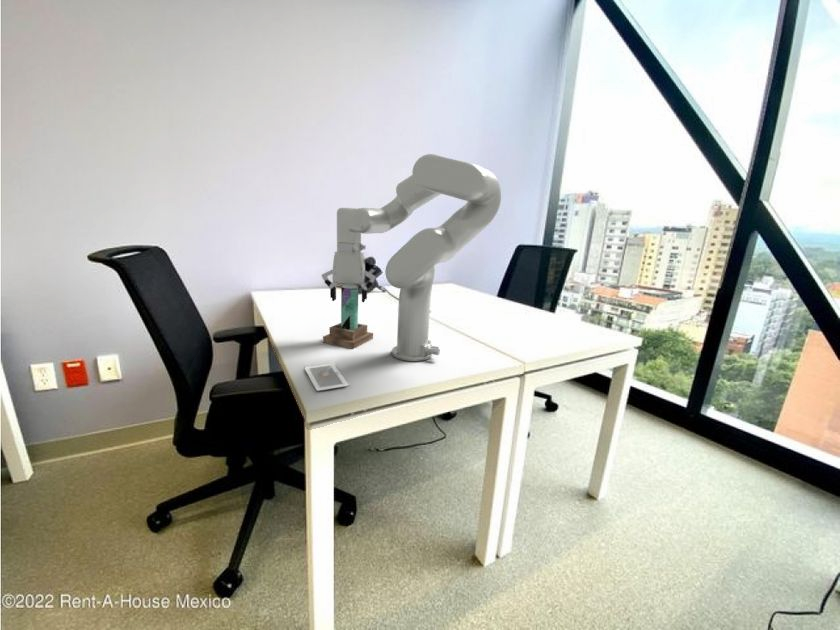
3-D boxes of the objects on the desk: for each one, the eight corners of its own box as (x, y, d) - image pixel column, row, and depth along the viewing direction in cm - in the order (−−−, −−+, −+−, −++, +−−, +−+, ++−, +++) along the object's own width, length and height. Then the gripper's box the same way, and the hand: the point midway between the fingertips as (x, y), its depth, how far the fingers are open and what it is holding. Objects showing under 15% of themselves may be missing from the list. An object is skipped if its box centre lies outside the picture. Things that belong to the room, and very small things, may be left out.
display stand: (373, 338, 130) (373, 324, 128) (354, 348, 119) (354, 333, 118) (343, 332, 134) (343, 319, 133) (323, 342, 123) (322, 327, 122)
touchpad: (317, 395, 89) (316, 386, 88) (304, 371, 101) (304, 363, 101) (349, 389, 92) (349, 381, 92) (332, 367, 105) (332, 360, 105)
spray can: (351, 331, 130) (352, 274, 125) (360, 335, 126) (362, 276, 121) (337, 334, 126) (338, 275, 121) (347, 338, 122) (347, 277, 117)
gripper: (377, 248, 123) (376, 299, 127) (324, 245, 122) (324, 297, 126) (375, 250, 116) (374, 304, 120) (318, 247, 115) (319, 302, 119)
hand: (348, 300), depth 123 cm, fingers open, 9 cm apart
